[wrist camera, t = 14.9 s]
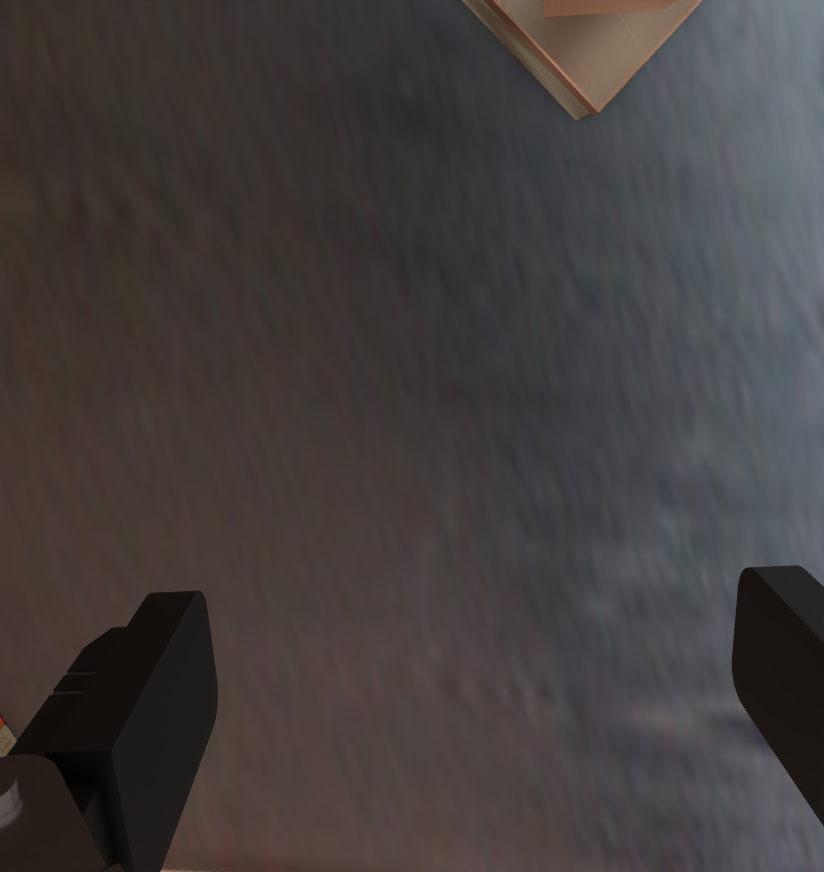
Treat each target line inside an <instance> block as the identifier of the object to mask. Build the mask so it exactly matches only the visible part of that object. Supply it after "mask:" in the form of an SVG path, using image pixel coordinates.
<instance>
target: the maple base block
mask: <svg viewBox="0 0 824 872" xmlns="http://www.w3.org/2000/svg"><path fill="white" fill-rule="evenodd" d="M462 1H463V2H464V3H465V4H466V5H467V6H468V7H469V8H470V9H471V11H472V12H473V13H474V14H475V15H476V16H477V17H478V18H479V19H480V20H481V21H482V22H483V23H484V24H485V25H486V26H487V27H488V28H489V30H490V31H491V32H492V33H493V34H494V35H495V36H496V37H497V38H498V39H499V40H500V41H501V42H502V43H503V44H504V45H505V46H506V47H507V49H508V50H509V51H510V52H511V53H512V54H513V55H514V56H515V57H516V58H517V59H518V60H519V61H520V62H521V63H522V64H523V65H524V66H525V68H526V69H527V70H528V71H529V72H530V73H531V74H532V75H533V76H534V77H535V78H536V79H537V80H538V81H539V82H540V83H541V84H542V85H543V86H544V88H545V89H546V90H547V91H548V92H549V93H550V94H551V95H552V96H553V97H554V98H555V99H556V100H557V101H558V102H559V103H560V104H561V105H562V107H563V108H564V109H565V110H566V111H567V112H568V113H569V114H570V115H571V116H572V117H573V118H574V119H575V120H578V119H580V118H582V117H584V116H586V115H588V114H591V115H592V116H593V115H595V114H598V113H599V112H600V111H601V110H602V109H603V108H604V107H605V106H606V105H607V103H608V102H609V101H610V100H611V99H612V98H613V97H614V96H615V95H616V94H617V93H618V91H619V90H620V89H621V88H622V87H623V86H624V85H625V84H626V83H627V82H628V81H629V80H630V78H631V77H632V76H633V75H634V74H635V73H636V72H637V71H638V70H639V69H640V68H641V66H642V65H643V64H644V63H645V62H646V61H647V60H648V59H649V58H650V57H651V56H652V55H653V53H654V52H655V51H656V50H657V49H658V48H659V47H660V46H661V45H662V44H663V43H664V42H665V40H666V39H667V38H668V37H669V36H670V35H671V34H672V33H673V32H674V31H675V30H676V28H677V27H678V26H679V25H680V24H681V23H682V22H683V21H684V20H685V19H686V18H687V17H688V15H689V14H690V13H691V12H692V11H693V10H694V9H695V8H696V7H697V6H698V5H699V4H700V2H701V1H702V0H677V1H676V2H674V3H673V4H671V5H670V6H668V7H667V8H666V9H661V10H646V11H631V12H617V13H602V14H587V15H573V16H558V17H544V2H543V0H462Z"/></svg>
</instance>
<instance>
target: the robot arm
mask: <svg viewBox="0 0 824 872" xmlns="http://www.w3.org/2000/svg"><path fill="white" fill-rule="evenodd" d="M732 674H733V680H734V685H735V689H736V692H737V695H738V697H739V700H740V702H741V703H742V705H743V707H744V708H745V710H746V711H747V713H748V714H749V716H750V717H751V719H752V720H753V722H754V723H755V725H756V726H757V728H758V729H759V731H760V732H761V734H762V735H763V737H764V738H765V740H766V741H767V743H768V744H769V746H770V747H771V749H772V750H773V751H774V753H775V754H776V756H777V757H778V759H779V760H780V762H781V763H782V765H783V766H784V768H785V769H786V771H787V772H788V774H789V775H790V777H791V778H792V780H793V781H794V783H795V784H796V786H797V787H798V789H799V790H800V792H801V793H802V795H803V796H804V798H805V799H806V801H807V802H808V804H809V805H810V807H811V808H812V810H813V811H814V813H815V814H816V816H817V817H818V819H819V820H820V822H821V823H822V824H823V826H824V586H822V585H821V584H820V583H819V582H818V581H817V580H816V579H815V578H814V577H813V576H812V575H810V574H809V573H808V572H807V571H806V570H805V569H804V568H802V567H801V566H797V565H794V566H772V567H749V568H745V569H744V570H743V571H742V573H741V575H740V579H739V584H738V594H737V605H736V617H735V629H734V640H733V652H732ZM217 703H218V685H217V676H216V669H215V661H214V654H213V646H212V639H211V632H210V624H209V617H208V610H207V604H206V600H205V597H204V595H203V593H202V592H201V591H181V592H158V593H150V594H148V595H147V596H146V598H145V599H144V601H143V602H142V604H141V605H140V607H139V608H138V610H137V611H136V613H135V615H134V616H133V618H132V619H131V621H130V622H129V624H128V625H127V627H116V628H111V629H110V630H108V631H107V632H106V633H104V634H103V635H101V636H100V637H99V638H97V639H96V640H94V641H93V642H92V643H90V644H89V645H87V646H86V647H85V648H84V649H83V650H82V651H81V653H80V654H79V655H78V657H77V658H76V660H75V661H74V662H73V664H72V665H71V667H70V668H69V669H68V671H67V675H64V676H63V678H62V679H61V680H60V682H59V683H58V685H57V686H56V687H55V689H54V693H53V695H50V696H49V697H48V698H47V700H46V701H45V703H44V704H43V705H42V707H41V708H40V710H39V711H38V712H37V714H36V715H35V716H34V718H33V719H32V721H31V722H30V723H29V725H28V726H27V728H26V729H25V730H24V732H23V733H22V735H21V736H20V737H19V739H18V740H17V741H16V743H15V744H14V746H13V747H12V748H11V750H10V751H9V753H8V754H7V755H6V756H4V757H0V872H160V871H161V869H162V866H163V863H164V860H165V858H166V855H167V852H168V850H169V847H170V844H171V841H172V839H173V836H174V833H175V830H176V828H177V825H178V822H179V819H180V817H181V814H182V811H183V809H184V806H185V803H186V800H187V798H188V795H189V792H190V789H191V787H192V784H193V781H194V778H195V776H196V773H197V770H198V767H199V765H200V762H201V759H202V757H203V754H204V751H205V748H206V746H207V743H208V740H209V737H210V735H211V732H212V729H213V726H214V723H215V719H216V713H217Z"/></svg>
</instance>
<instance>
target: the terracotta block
mask: <svg viewBox="0 0 824 872" xmlns="http://www.w3.org/2000/svg"><path fill="white" fill-rule="evenodd" d="M676 1H677V0H543V2H544V17H558V16H573V15H587V14H602V13H617V12H631V11H646V10H661V9H666V8H667V7H668V6H670V5H671V4H673V3H674V2H676Z"/></svg>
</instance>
